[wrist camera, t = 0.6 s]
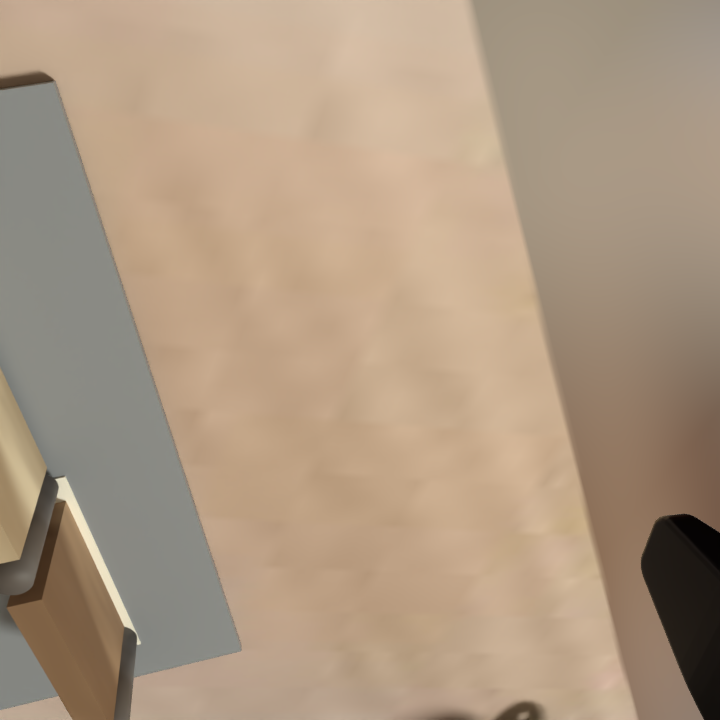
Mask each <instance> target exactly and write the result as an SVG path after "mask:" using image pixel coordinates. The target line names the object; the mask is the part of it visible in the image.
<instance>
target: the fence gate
mask: <svg viewBox="0 0 720 720" xmlns="http://www.w3.org/2000/svg"><path fill="white" fill-rule="evenodd" d="M46 470H47V466H46V464H45V462H44V460H43V458H42V456H41V454H40V451H39V449H38V447H37V445H36V443H35V441H34V439H33V436H32V434H31V432H30V430H29V428H28V426H27V424H26V421H25V419H24V417H23V415H22V413H21V411H20V409H19V406H18V404H17V402H16V400H15V398H14V396H13V394H12V391H11V389H10V387H9V385H8V383H7V381H6V379H5V376H4V374H3V372H2V370H1V368H0V594H4V595H19V594H22V593H25V592H27V591H28V590H29V589H31V587H32V586H33V584H34V580H35V577H36V573H37V569H38V565H39V561H40V558H41V554H42V550H43V546H44V543H45V539H46V535H47V531H48V528H49V524H50V520H51V516H52V512H53V509H54V505H55V501H56V497H57V494H58V490H59V486H58V483H57V481H56V480H55V479H54V478H53V477H51V476H50V475H47V474H45V473H46Z"/></svg>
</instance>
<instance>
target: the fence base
mask: <svg viewBox="0 0 720 720" xmlns="http://www.w3.org/2000/svg"><path fill="white" fill-rule="evenodd" d="M6 608H7V610H8V611H9V613H10V615H11V616H12V618H13V620H14V621H15V623H16V625H17V626H18V628H19V630H20V631H21V633H22V635H23V636H24V638H25V640H26V642H27V643H28V645H29V647H30V648H31V650H32V652H33V653H34V655H35V657H36V658H37V660H38V662H39V663H40V665H41V667H42V669H43V670H44V672H45V674H46V675H47V677H48V679H49V680H50V682H51V684H52V685H53V687H54V689H55V690H56V692H57V694H58V696H59V697H60V699H61V701H62V702H63V704H64V706H65V707H66V709H67V711H68V712H69V714H70V716H71V717H72V719H73V720H130V711H131V700H132V689H133V679H134V668H135V657H136V647H137V635H136V633H135V632H134V631H133V630H132V629H130V628H127V627H124V625H123V623H122V621H121V618H120V616H119V614H118V612H117V610H116V608H115V605H114V603H113V601H112V599H111V597H110V595H109V592H108V590H107V588H106V586H105V584H104V582H103V580H102V577H101V575H100V573H99V571H98V569H97V567H96V564H95V562H94V560H93V558H92V556H91V554H90V552H89V549H88V547H87V545H86V543H85V541H84V539H83V536H82V534H81V532H80V530H79V528H78V526H77V523H76V521H75V519H74V517H73V515H72V513H71V511H70V508H69V506H68V504H67V502H66V501H63V502H59V503H55V505H54V509H53V512H52V516H51V520H50V524H49V528H48V531H47V535H46V539H45V543H44V546H43V550H42V554H41V558H40V561H39V565H38V569H37V573H36V577H35V580H34V584H33V586H32V587H31V589H29V590H28V591H27V592H25V593H22V594H19V595H10V597H9V601H8V604H7V607H6Z"/></svg>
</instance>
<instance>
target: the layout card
mask: <svg viewBox="0 0 720 720" xmlns="http://www.w3.org/2000/svg"><path fill="white" fill-rule="evenodd" d="M0 368H1V370H2V372H3V374H4V376H5V379H6V381H7V383H8V385H9V387H10V389H11V391H12V394H13V396H14V398H15V400H16V402H17V404H18V406H19V409H20V411H21V413H22V415H23V417H24V419H25V421H26V424H27V426H28V428H29V430H30V432H31V434H32V436H33V439H34V441H35V443H36V445H37V447H38V449H39V451H40V454H41V456H42V458H43V460H44V462H45V464H46V466H47V470H46V473H45V474H47V475H50V476H51V477H53V478H54V479H55V480H56V481H57V483H58V486H59V490H58V494H57V497H56V501H55V503H59V502H63V501H66V502H67V504H68V506H69V508H70V511H71V513H72V515H73V517H74V519H75V521H76V523H77V526H78V528H79V530H80V532H81V534H82V536H83V539H84V541H85V543H86V545H87V547H88V549H89V552H90V554H91V556H92V558H93V560H94V562H95V564H96V567H97V569H98V571H99V573H100V575H101V577H102V580H103V582H104V584H105V586H106V588H107V590H108V592H109V595H110V597H111V599H112V601H113V603H114V605H115V608H116V610H117V612H118V614H119V616H120V618H121V621H122V623H123V625H124V627H127V628H130V629H132V630H133V631H134V632H135V633H136V635H137V647H136V657H135V668H134V677H137V676H141V675H146V674H150V673H154V672H158V671H162V670H166V669H170V668H174V667H178V666H182V665H186V664H191V663H195V662H199V661H203V660H207V659H211V658H215V657H219V656H223V655H227V654H231V653H236V652H240V651H241V643H240V640H239V637H238V634H237V631H236V628H235V625H234V622H233V619H232V616H231V613H230V610H229V607H228V604H227V601H226V598H225V595H224V591H223V588H222V585H221V582H220V579H219V576H218V573H217V570H216V567H215V564H214V561H213V558H212V555H211V552H210V549H209V546H208V543H207V540H206V537H205V534H204V531H203V528H202V525H201V522H200V519H199V516H198V513H197V510H196V506H195V503H194V500H193V497H192V494H191V491H190V488H189V485H188V482H187V479H186V476H185V473H184V470H183V467H182V464H181V461H180V458H179V455H178V452H177V449H176V446H175V443H174V440H173V437H172V434H171V431H170V428H169V425H168V421H167V418H166V415H165V412H164V409H163V406H162V403H161V400H160V397H159V394H158V391H157V388H156V385H155V382H154V379H153V376H152V373H151V370H150V367H149V364H148V361H147V358H146V355H145V352H144V349H143V346H142V343H141V340H140V336H139V333H138V330H137V327H136V324H135V321H134V318H133V315H132V312H131V309H130V306H129V303H128V300H127V297H126V294H125V291H124V288H123V285H122V282H121V279H120V276H119V273H118V270H117V267H116V264H115V261H114V258H113V255H112V251H111V248H110V245H109V242H108V239H107V236H106V233H105V230H104V227H103V224H102V221H101V218H100V215H99V212H98V209H97V206H96V203H95V200H94V197H93V194H92V191H91V188H90V185H89V182H88V179H87V176H86V173H85V170H84V166H83V163H82V160H81V157H80V154H79V151H78V148H77V145H76V142H75V139H74V136H73V133H72V130H71V127H70V124H69V121H68V118H67V115H66V112H65V109H64V106H63V103H62V100H61V97H60V94H59V91H58V88H57V85H56V81H49V82H43V83H36V84H29V85H23V86H16V87H9V88H3V89H0ZM9 597H10V595H4V594H0V710H2V709H7V708H11V707H15V706H19V705H23V704H27V703H31V702H35V701H39V700H43V699H47V698H52V697H56V696H58V694H57V692H56V690H55V689H54V687H53V685H52V684H51V682H50V680H49V679H48V677H47V675H46V674H45V672H44V670H43V669H42V667H41V665H40V663H39V662H38V660H37V658H36V657H35V655H34V653H33V652H32V650H31V648H30V647H29V645H28V643H27V642H26V640H25V638H24V636H23V635H22V633H21V631H20V630H19V628H18V626H17V625H16V623H15V621H14V620H13V618H12V616H11V615H10V613H9V611H8V610H7V608H6V607H7V604H8V601H9Z"/></svg>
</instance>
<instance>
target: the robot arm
mask: <svg viewBox="0 0 720 720" xmlns="http://www.w3.org/2000/svg"><path fill="white" fill-rule="evenodd" d="M641 570H642V574H643V577H644V580H645V582H646V585H647V587H648V590H649V593H650V595H651V597H652V600H653V603H654V605H655V608H656V610H657V613H658V615H659V618H660V620H661V623H662V625H663V628H664V630H665V633H666V635H667V638H668V641H669V643H670V646H671V648H672V650H673V653H674V656H675V658H676V661H677V663H678V665H679V668H680V670H681V673H682V675H683V677H684V680H685V682H686V684H687V686H688V689H689V691H690V693H691V695H692V697H693V699H694V701H695V703H696V705H697V707H698V709H699V711H700V713H701V715H702V716H703V719H704V720H720V533H719V532H718V531H716V530H715V529H713V528H712V527H710V526H709V525H707V524H705V523H704V522H702V521H701V520H699V519H698V518H696V517H694V516H692V515H689V514H677V515H668V516H662V517H659V518H658V519H657V520H656V521H655V523H654V525H653V528H652V530H651V533H650V536H649V538H648V541H647V543H646V546H645V549H644V551H643V554H642V557H641Z"/></svg>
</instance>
